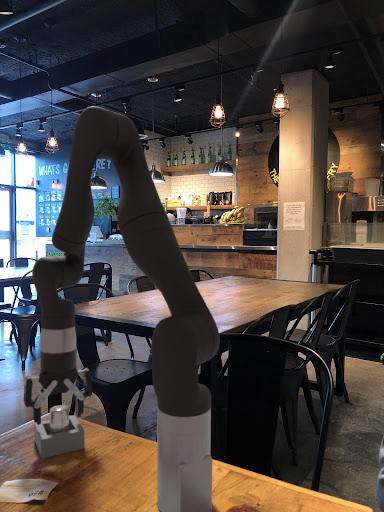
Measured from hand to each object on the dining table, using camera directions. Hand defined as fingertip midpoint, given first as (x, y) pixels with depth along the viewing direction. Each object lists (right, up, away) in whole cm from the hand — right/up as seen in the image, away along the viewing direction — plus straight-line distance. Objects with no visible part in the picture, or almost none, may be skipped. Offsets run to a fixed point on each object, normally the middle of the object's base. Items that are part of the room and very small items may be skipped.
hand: (58, 419), depth 94 cm
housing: (0, -6, 0) cm, 6 cm away
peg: (0, -6, 0) cm, 6 cm away
